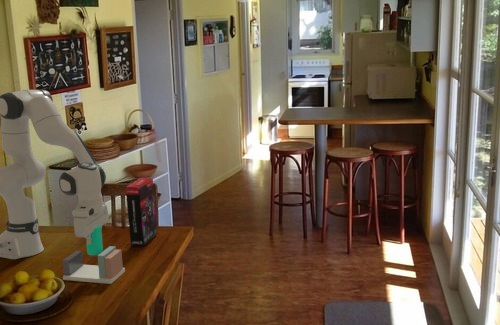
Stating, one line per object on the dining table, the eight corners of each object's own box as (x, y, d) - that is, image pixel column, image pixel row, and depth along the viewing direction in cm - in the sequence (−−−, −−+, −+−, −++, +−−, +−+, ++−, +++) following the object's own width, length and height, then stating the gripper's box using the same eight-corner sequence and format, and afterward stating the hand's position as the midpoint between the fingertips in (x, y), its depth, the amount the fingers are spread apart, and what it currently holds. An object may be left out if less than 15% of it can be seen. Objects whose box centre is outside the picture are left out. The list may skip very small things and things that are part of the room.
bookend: (64, 274, 229) (62, 260, 228) (77, 264, 239) (76, 250, 237) (70, 275, 229) (68, 260, 227) (83, 265, 238) (81, 251, 237)
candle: (101, 254, 227) (99, 224, 224) (85, 255, 227) (82, 225, 224) (104, 249, 233) (102, 219, 230) (88, 250, 232) (86, 220, 230)
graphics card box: (144, 247, 260) (140, 187, 254) (129, 247, 262) (124, 186, 256) (157, 234, 277) (154, 177, 271) (143, 234, 278) (139, 177, 272)
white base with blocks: (63, 279, 229) (60, 253, 226) (79, 267, 240) (76, 242, 238) (111, 283, 224) (109, 257, 222) (125, 271, 235) (123, 246, 233)
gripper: (96, 198, 236) (99, 231, 239) (69, 213, 217) (72, 249, 220) (111, 198, 235) (114, 232, 238) (85, 214, 215) (88, 250, 218)
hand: (94, 240), depth 229 cm, fingers closed on candle, 5 cm apart
